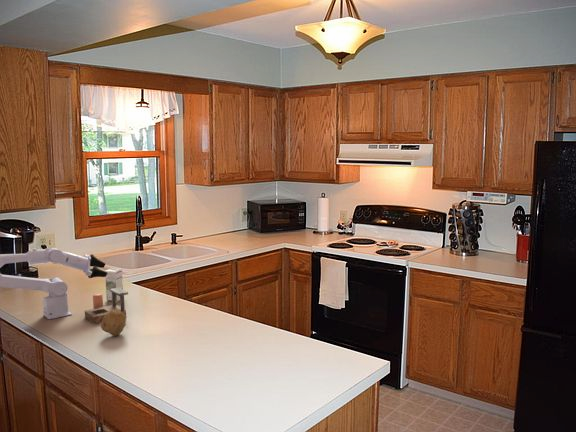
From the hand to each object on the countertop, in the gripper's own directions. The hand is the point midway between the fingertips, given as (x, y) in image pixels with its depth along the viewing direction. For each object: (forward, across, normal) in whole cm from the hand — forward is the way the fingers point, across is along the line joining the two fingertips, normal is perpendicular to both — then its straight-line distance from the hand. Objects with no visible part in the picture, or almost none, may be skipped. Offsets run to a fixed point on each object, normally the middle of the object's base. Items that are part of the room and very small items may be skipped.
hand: (105, 270), depth 233 cm
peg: (+2, -10, +15) cm, 18 cm away
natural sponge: (-1, -43, +2) cm, 43 cm away
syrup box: (+12, +3, +15) cm, 20 cm away
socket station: (+3, -20, +10) cm, 23 cm away
